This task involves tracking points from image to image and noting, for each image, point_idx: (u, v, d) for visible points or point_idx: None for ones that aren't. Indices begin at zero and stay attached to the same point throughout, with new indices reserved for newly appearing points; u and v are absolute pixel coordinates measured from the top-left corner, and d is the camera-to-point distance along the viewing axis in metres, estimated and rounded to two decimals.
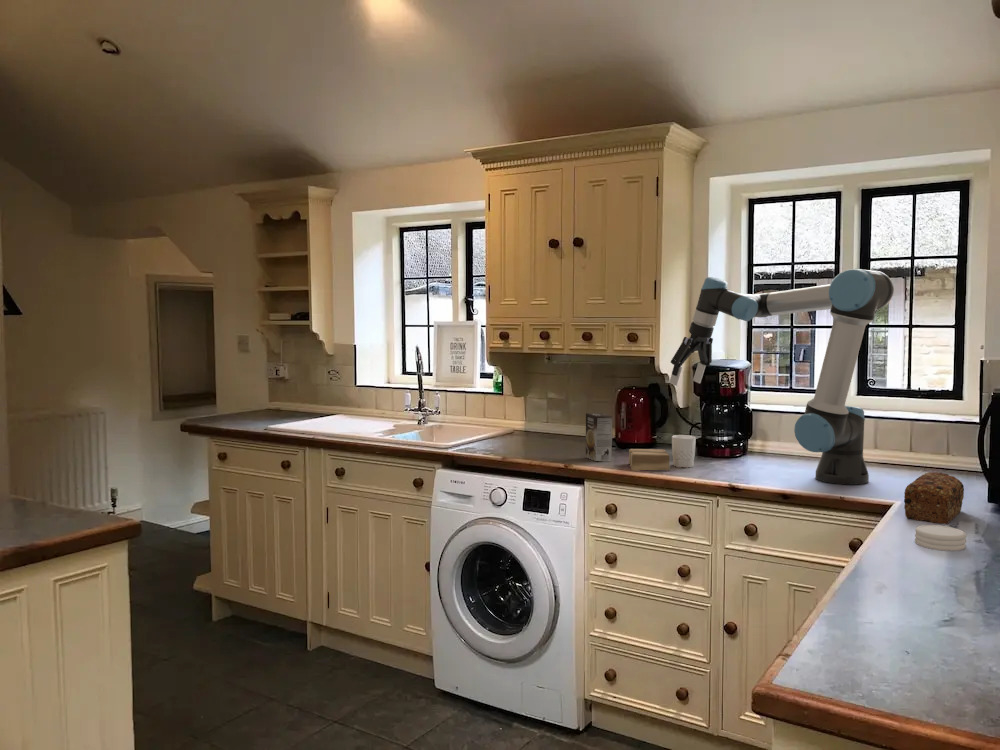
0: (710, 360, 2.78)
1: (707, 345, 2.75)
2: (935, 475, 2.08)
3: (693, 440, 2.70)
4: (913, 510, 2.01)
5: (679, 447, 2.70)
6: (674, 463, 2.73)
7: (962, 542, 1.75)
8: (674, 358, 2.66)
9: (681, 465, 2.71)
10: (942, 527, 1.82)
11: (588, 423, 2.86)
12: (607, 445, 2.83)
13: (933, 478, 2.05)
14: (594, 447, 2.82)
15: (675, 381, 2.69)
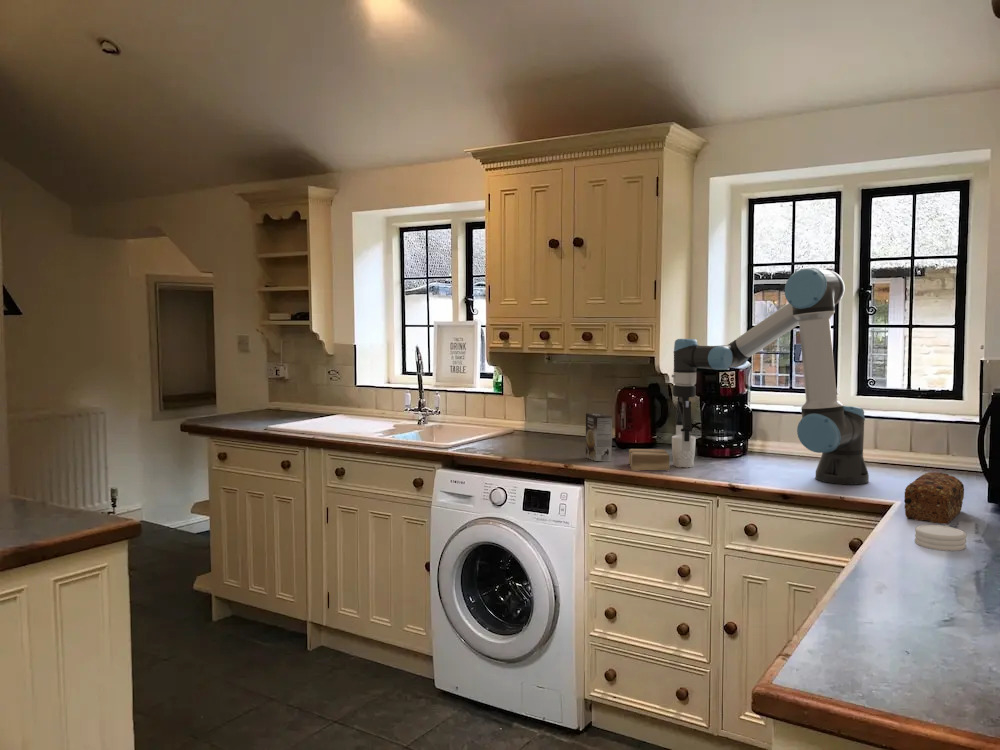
0: None
1: None
2: (935, 475, 2.09)
3: (693, 440, 2.70)
4: (913, 510, 2.01)
5: (679, 447, 2.70)
6: (674, 463, 2.73)
7: (962, 542, 1.75)
8: (686, 424, 2.63)
9: (681, 465, 2.71)
10: (942, 527, 1.82)
11: (588, 423, 2.86)
12: (607, 445, 2.83)
13: (933, 478, 2.05)
14: (594, 447, 2.82)
15: (688, 447, 2.66)
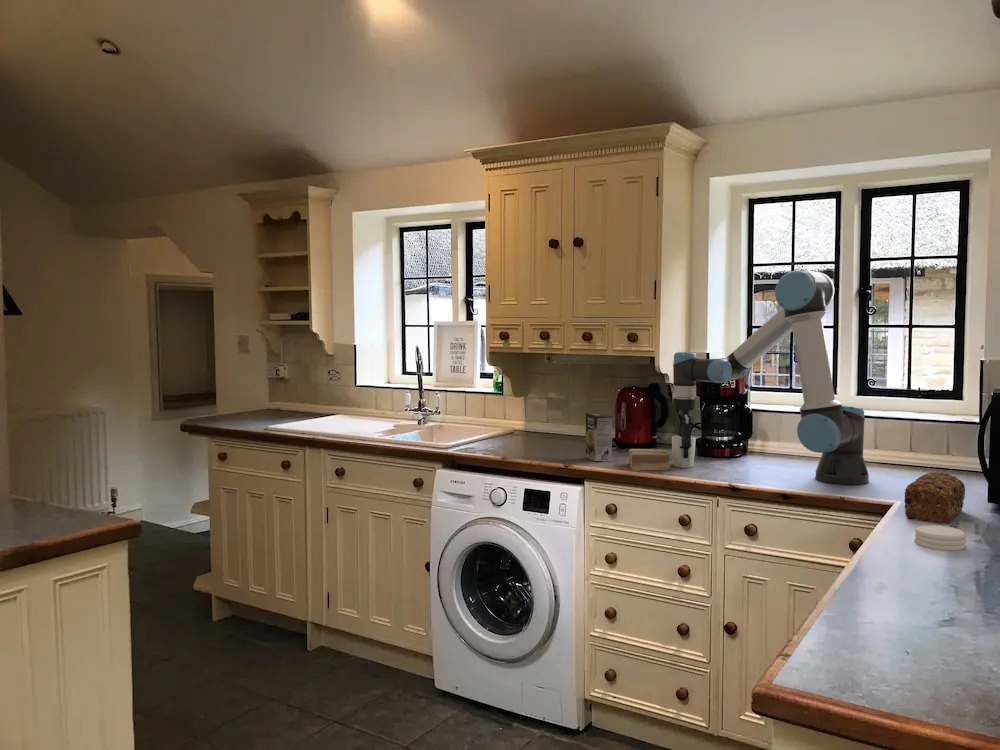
0: None
1: None
2: (936, 475, 2.08)
3: (693, 440, 2.70)
4: (914, 510, 2.01)
5: (678, 447, 2.70)
6: (674, 463, 2.73)
7: (962, 542, 1.75)
8: (685, 442, 2.66)
9: None
10: (942, 527, 1.82)
11: (588, 423, 2.86)
12: (607, 445, 2.83)
13: (934, 478, 2.05)
14: (594, 447, 2.82)
15: (688, 463, 2.69)
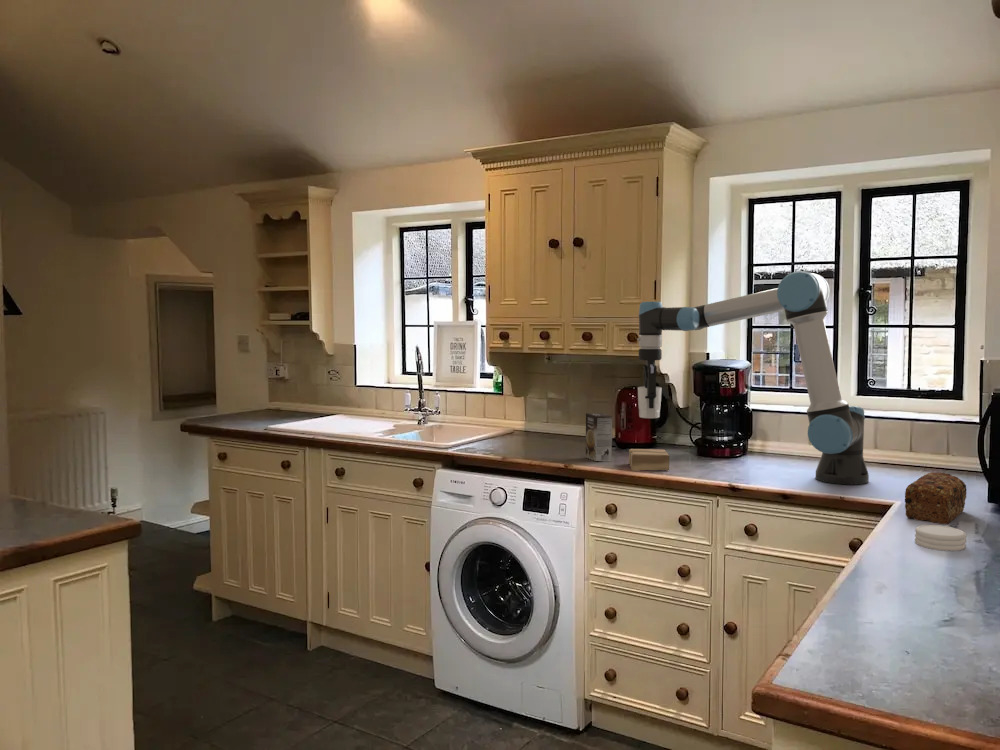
0: None
1: None
2: (937, 475, 2.08)
3: (659, 390, 2.67)
4: (914, 510, 2.01)
5: (644, 398, 2.67)
6: (640, 414, 2.70)
7: (962, 542, 1.75)
8: (650, 391, 2.63)
9: None
10: (942, 527, 1.82)
11: (588, 423, 2.86)
12: (607, 445, 2.83)
13: (934, 478, 2.05)
14: (594, 447, 2.82)
15: (653, 414, 2.66)
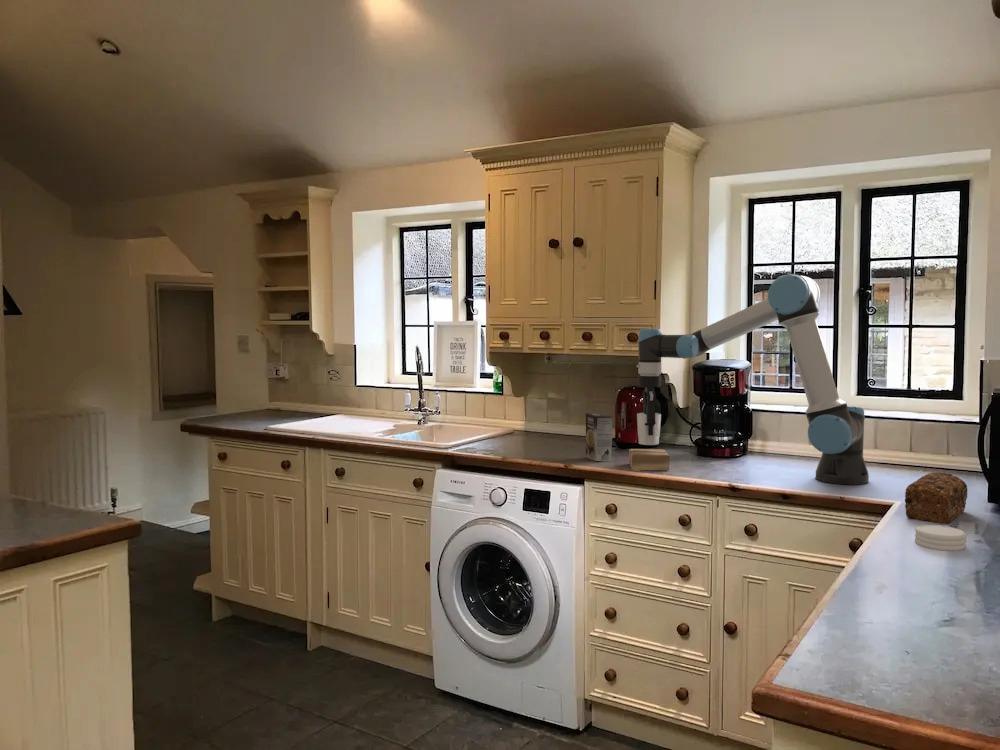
0: None
1: None
2: (938, 475, 2.08)
3: (658, 417, 2.68)
4: (914, 510, 2.01)
5: (643, 425, 2.68)
6: (639, 440, 2.70)
7: (962, 542, 1.75)
8: (650, 418, 2.63)
9: None
10: (942, 527, 1.82)
11: (588, 423, 2.86)
12: (607, 445, 2.83)
13: (935, 478, 2.05)
14: (594, 447, 2.82)
15: (652, 441, 2.67)
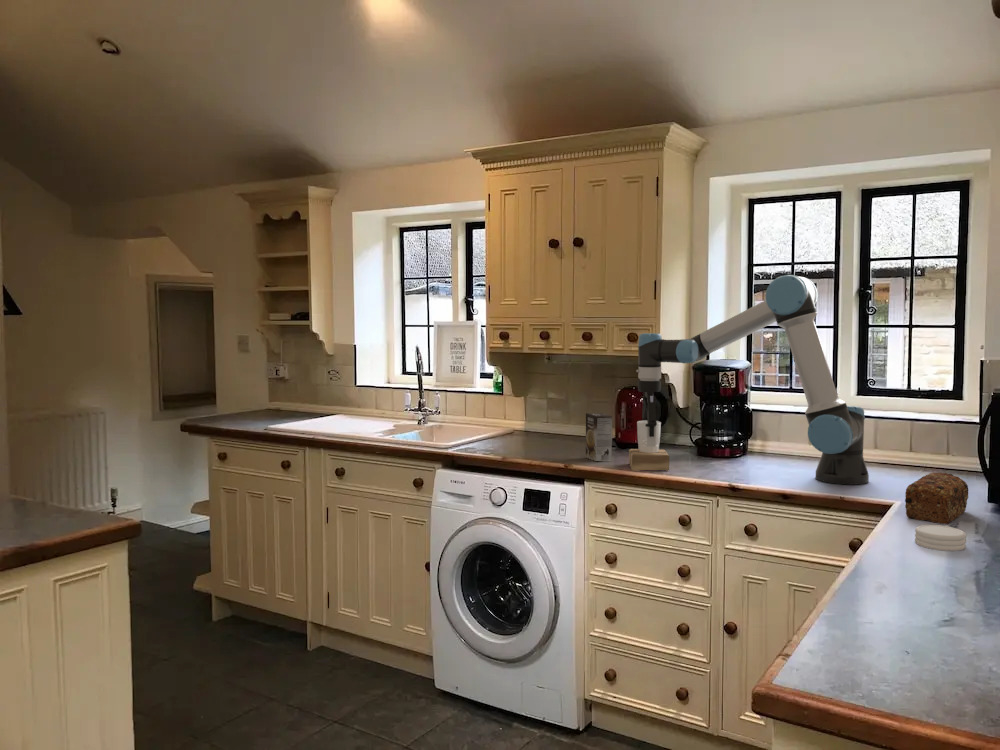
0: None
1: None
2: (938, 475, 2.08)
3: (658, 425, 2.68)
4: (914, 510, 2.01)
5: (643, 433, 2.68)
6: (639, 448, 2.71)
7: (962, 542, 1.75)
8: (650, 419, 2.61)
9: (646, 450, 2.69)
10: (942, 527, 1.82)
11: (588, 423, 2.86)
12: (607, 445, 2.83)
13: (935, 478, 2.05)
14: (594, 447, 2.82)
15: (654, 442, 2.64)
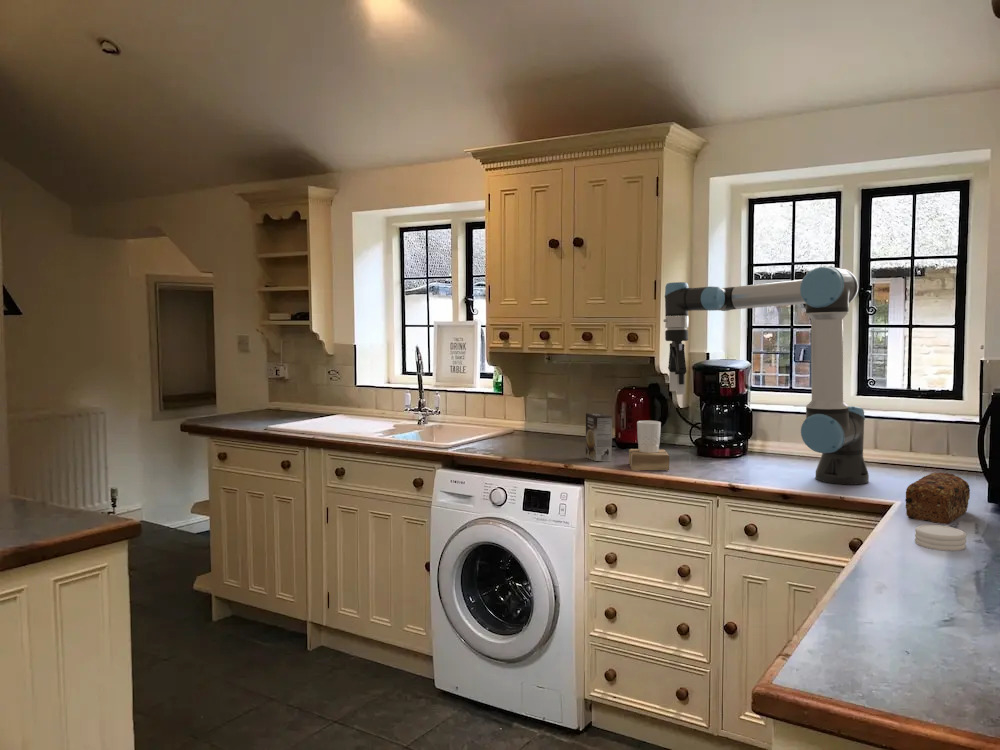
0: None
1: None
2: (940, 475, 2.08)
3: (658, 425, 2.69)
4: (914, 510, 2.01)
5: (643, 433, 2.69)
6: (639, 448, 2.71)
7: (962, 542, 1.75)
8: (680, 366, 2.61)
9: (646, 450, 2.69)
10: (942, 527, 1.82)
11: (588, 423, 2.86)
12: (607, 445, 2.83)
13: (936, 478, 2.05)
14: (594, 447, 2.82)
15: (683, 390, 2.63)
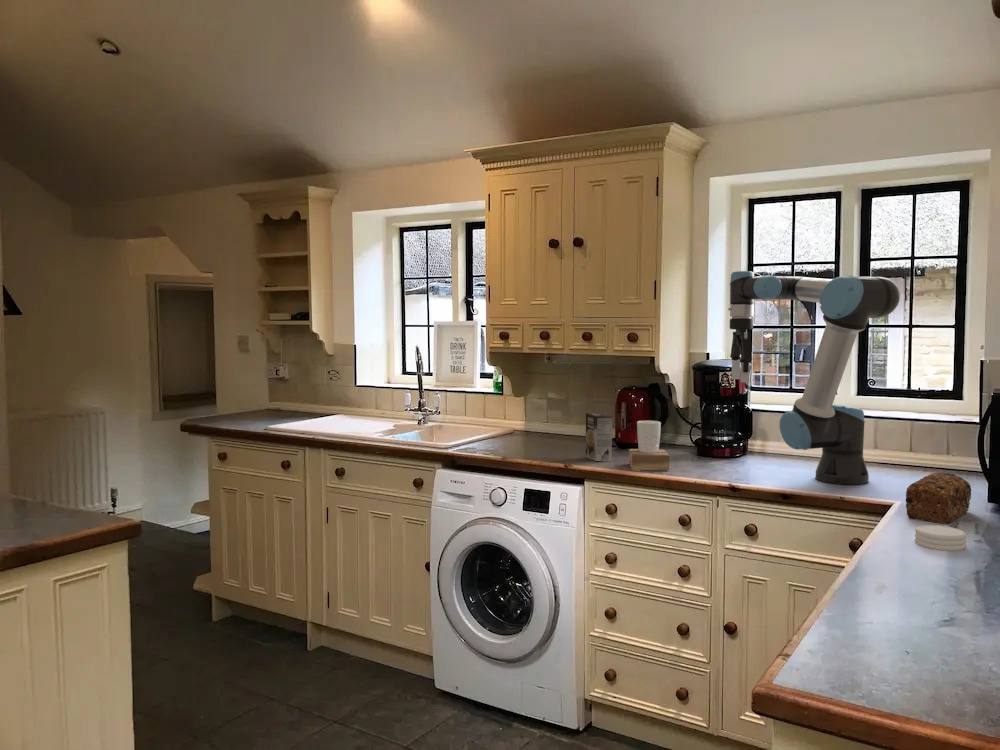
0: None
1: None
2: (941, 475, 2.08)
3: (658, 425, 2.69)
4: (914, 510, 2.01)
5: (643, 433, 2.69)
6: (639, 448, 2.71)
7: (962, 542, 1.75)
8: (745, 355, 2.63)
9: (646, 450, 2.69)
10: (942, 527, 1.82)
11: (588, 423, 2.86)
12: (607, 445, 2.83)
13: (937, 478, 2.05)
14: (594, 447, 2.82)
15: (747, 378, 2.66)
